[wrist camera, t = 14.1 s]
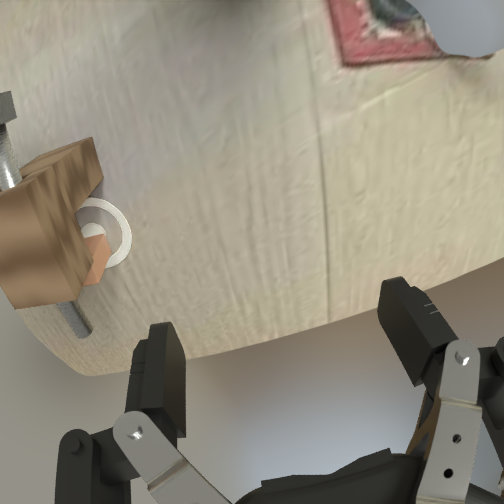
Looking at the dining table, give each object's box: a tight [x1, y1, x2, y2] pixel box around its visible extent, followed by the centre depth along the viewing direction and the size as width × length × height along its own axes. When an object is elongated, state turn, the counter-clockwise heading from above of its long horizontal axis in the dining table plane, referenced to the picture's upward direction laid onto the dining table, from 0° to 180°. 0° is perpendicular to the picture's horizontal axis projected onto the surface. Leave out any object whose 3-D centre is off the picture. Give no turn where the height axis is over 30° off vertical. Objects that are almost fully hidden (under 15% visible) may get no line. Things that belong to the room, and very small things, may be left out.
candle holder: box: [78, 197, 132, 268], centre depth 42 cm, size 12×12×4 cm
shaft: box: [0, 91, 93, 338], centre depth 27 cm, size 29×4×4 cm, turn 7°
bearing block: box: [0, 137, 104, 309], centre depth 31 cm, size 12×9×18 cm
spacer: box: [83, 233, 112, 286], centre depth 37 cm, size 3×7×7 cm, turn 98°
